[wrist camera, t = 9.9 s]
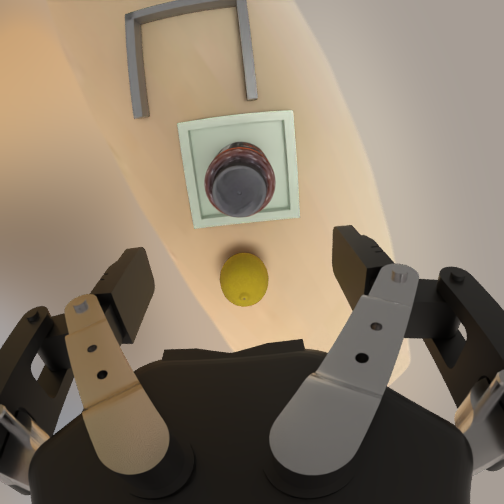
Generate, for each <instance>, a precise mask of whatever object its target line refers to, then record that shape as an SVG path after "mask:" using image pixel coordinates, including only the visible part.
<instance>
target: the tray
mask: <svg viewBox="0 0 504 504" xmlns="http://www.w3.org/2000/svg"><path fill="white" fill-rule="evenodd" d="M177 126H178V133H179V140H180V147H181V154H182V160H183V167H184V173H185V179H186V185H187V191H188V197H189V203H190V208H191V214H192V220H193V225H194V229H197V228H205V227H214V226H222V225H231V224H241V223H250V222H260V221H269V220H279V219H290V218H300V208H299V188H298V171H297V155H296V141H295V129H294V117H293V110H285V111H269V112H257V113H246V114H237V115H228V116H220V117H213V118H206V119H200V120H193V121H187V122H182V123H177ZM235 142H247V143H251V144H253V145H255V146H257V147H258V148H260V149H261V150H262V152H263V153H264V154H265V156H266V157H267V159H268V161H269V162H270V164H271V166H272V168H273V171H274V174H275V180H276V185H275V191H274V194H273V197H272V199H271V201H270V202H269V203H268V205H267V206H266V207H265V208H264V209H263V210H261V211H260V212H258V213H257V214H254V215H252V216H249V217H242V218H237V217H231V216H228V215H225V214H223V213H221V212H220V211H218V210H217V209H216V208H215V207H214V206H213V205H212V204H211V203H210V201H209V199H208V198H207V195H206V192H205V187H204V180H205V175H206V172H207V169H208V167H209V165H210V164H211V162H212V161H213V159H214V158H215V157H216V155H217V154H218V153H219V152H220V150H222V149H223V148H224V147H226V146H227V145H229V144H232V143H235Z"/></svg>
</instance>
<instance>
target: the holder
mask: <svg viewBox="0 0 504 504" xmlns="http://www.w3.org/2000/svg"><path fill="white" fill-rule="evenodd" d="M235 6H237V14H238V22H239V31H240V39H241V48H242V57H243V65H244V74H245V83H246V92H247V101H248V100H257V99H258V95H257V86H256V77H255V68H254V59H253V50H252V42H251V34H250V25H249V17H248V10H247V2H246V0H176V1H172V2H167V3H163V4H159V5H155V6H151V7H148V8H144V9H141V10H137V11H134V12H131V13H128V14H125V29H126V47H127V60H128V72H129V82H130V91H131V100H132V108H133V115H134V119H137V118H144V117H149V116H150V115H149V107H148V99H147V91H146V82H145V72H144V62H143V50H142V36H141V24H144V23H148V22H152V21H155V20H159V19H163V18H168V17H172V16H177V15H182V14H187V13H192V12H198V11H204V10H210V9H217V8H226V7H235Z"/></svg>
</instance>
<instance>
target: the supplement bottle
mask: <svg viewBox="0 0 504 504" xmlns="http://www.w3.org/2000/svg"><path fill="white" fill-rule="evenodd" d="M275 185H276V180H275V174H274V171H273V168H272V166H271V164H270V162H269V161H268V159H267V157H266V156H265V154H264V153H263V152H262V150H261V149H260V148H258V147H257V146H255V145H253V144H251V143H247V142H235V143H232V144H229V145H227V146H226V147H224V148H223V149H222V150H220V152H219V153H218V154H217V155H216V157H215V158H214V159H213V161H212V162H211V164H210V165H209V167H208V169H207V172H206V175H205V180H204V187H205V192H206V195H207V198H208V199H209V201H210V203H211V204H212V205H213V206H214V207H215V208H216V209H217V210H218V211H220V212H221V213H223V214H225V215H228V216H231V217H237V218H242V217H249V216H252V215H254V214H257V213H258V212H260V211H261V210H263V209H264V208H265V207H266V206H267V205H268V203H269V202H270V201H271V199H272V197H273V194H274V191H275Z"/></svg>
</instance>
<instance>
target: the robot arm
mask: <svg viewBox="0 0 504 504" xmlns="http://www.w3.org/2000/svg"><path fill="white" fill-rule="evenodd" d="M332 266H333V272H334V275H335V277H336V279H337V281H338V283H339V285H340V287H341V288H342V290H343V292H344V294H345V296H346V298H347V300H348V302H349V304H350V306H351V308H352V310H353V312H352V314H351V316H350V317H349V319H348V321H347V323H346V324H345V326H344V328H343V329H342V331H341V333H340V334H339V336H338V338H337V339H336V341H335V343H334V344H333V346H332V348H331V349H330V351H329V352H328V353H326V352H323V351H319V350H312V349H305V347H304V343H303V339H298V340H290V341H282V342H273V343H266V344H263V345H259V346H256V347H252V348H249V349H245V350H242V351H238V352H234V353H226V352H217V351H210V350H203V349H171V350H164V353H163V357H162V360H158V361H155V362H152V363H149V364H147V365H144V366H142V367H140V368H138V369H137V370H135V371H134V372H133V370H132V368H131V367H130V365H129V363H128V361H127V359H126V357H125V356H124V353H123V352H122V350H121V348H120V346H121V344H133V343H134V340H135V338H136V335H137V332H138V330H139V327H140V325H141V322H142V320H143V317H144V315H145V312H146V310H147V308H148V305H149V303H150V300H151V298H152V296H153V293H154V288H155V285H154V278H153V275H152V272H151V268H150V265H149V261H148V258H147V254H146V251H145V249H144V248H143V247H138V248H130V249H126V250H125V251H124V253H123V254H122V255H121V257H120V258H119V260H118V261H116V262H115V263H114V264H112V265H111V266H110V267H109V268H108V269H107V270H106V272H105V273H104V275H103V276H102V277H101V279H100V281H99V282H98V283H97V284H96V286H95V287H94V289H93V290H92V291H91V293H90V294H84V295H81V296H78V297H76V298H74V299H73V300H71V301H70V302H69V303H68V304H67V305H66V307H65V309H64V312H65V313H64V314H60V315H56V316H52V317H51V315H50V313H49V311H48V309H47V308H46V307H44V306H40V307H36V308H33V309H31V310H30V311H28V312H27V313H26V314H25V315H24V316H23V317H22V318H21V320H20V321H19V322H18V324H17V325H16V327H15V328H14V330H13V331H12V333H11V334H10V335H9V337H8V338H7V340H6V341H5V343H4V345H3V346H2V348H1V349H0V481H1V482H2V483H4V484H6V485H8V486H10V487H12V488H13V489H15V490H16V491H18V492H19V493H21V494H24V495H31V501H32V504H470V489H471V480H472V476H474V475H476V474H478V473H480V472H481V471H483V470H485V469H486V470H489V471H497V470H499V469H501V468H502V467H504V310H503V309H502V308H501V307H500V306H499V304H498V303H497V302H496V301H495V300H494V299H493V298H492V297H491V295H490V294H489V293H488V292H487V291H486V290H485V289H484V288H483V287H482V286H481V285H480V284H479V282H477V280H476V279H475V278H474V277H473V276H472V275H471V274H469V273H468V272H467V271H465V270H463V269H461V268H457V267H445V268H443V269H442V270H441V271H440V273H439V277H438V280H429V279H427V280H426V279H419V274H418V273H417V271H415V270H414V269H413V268H411V267H409V266H407V265H403V264H395V263H394V262H393V261H392V260H391V259H390V258H389V256H388V255H387V254H386V253H385V252H383V250H382V249H381V248H380V247H379V245H378V244H377V243H376V242H375V241H374V240H373V239H371V238H369V237H367V236H365V235H360V234H359V233H358V232H357V230H356V229H355V228H354V227H353V226H352V225H347V226H336V227H334V229H333V248H332ZM460 323H462V324H463V326H464V327H465V329H466V333H467V340H466V341H465V339H464V337H463V336H462V334H461V333H460V331H459V330H458V328H459V325H460ZM403 338H423V341H424V342H425V344H426V346H427V348H428V350H429V351H430V354H431V355H432V357H433V359H434V361H435V363H436V365H437V367H438V369H439V371H440V373H441V375H442V377H443V379H444V381H445V383H446V385H447V387H448V389H449V391H450V393H451V395H452V397H453V400H454V402H455V404H456V406H457V408H458V410H457V411H456V414H455V425H453V424H452V423H450V422H449V421H447V420H445V419H443V418H441V417H439V416H438V415H436V414H434V413H432V412H430V411H429V410H427V409H425V408H423V407H422V406H420V405H418V404H416V403H415V402H413V401H411V400H409V399H408V398H406V397H404V396H402V395H401V394H399V393H397V392H396V391H394V390H392V389H390V388H389V387H387V384H388V382H389V379H390V376H391V374H392V371H393V368H394V365H395V363H396V360H397V357H398V354H399V351H400V348H401V345H402V341H403ZM37 353H38V354H39V356H40V357H41V359H42V360H43V362H44V363H45V366H44V368H43V370H42V372H41V374H40V376H39V378H38V380H37V381H36V380H35V378H34V377H33V375H32V372H31V363H32V361H33V359H34V357H35V356H36V354H37ZM73 378H75V381H76V384H77V388H78V391H79V394H80V398H81V401H82V404H83V407H84V409H83V411H82V413H81V414H80V415H79V416H77V417H76V418H75V419H73V420H72V421H71V422H70V423H68V424H67V425H66V426H64V427H63V428H62V429H61V430H59V431H58V432H57V433H55V435H53V433H54V430H55V427H56V424H57V421H58V418H59V415H60V413H61V410H62V407H63V404H64V401H65V399H66V396H67V394H68V391H69V388H70V386H71V383H72V381H73Z"/></svg>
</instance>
